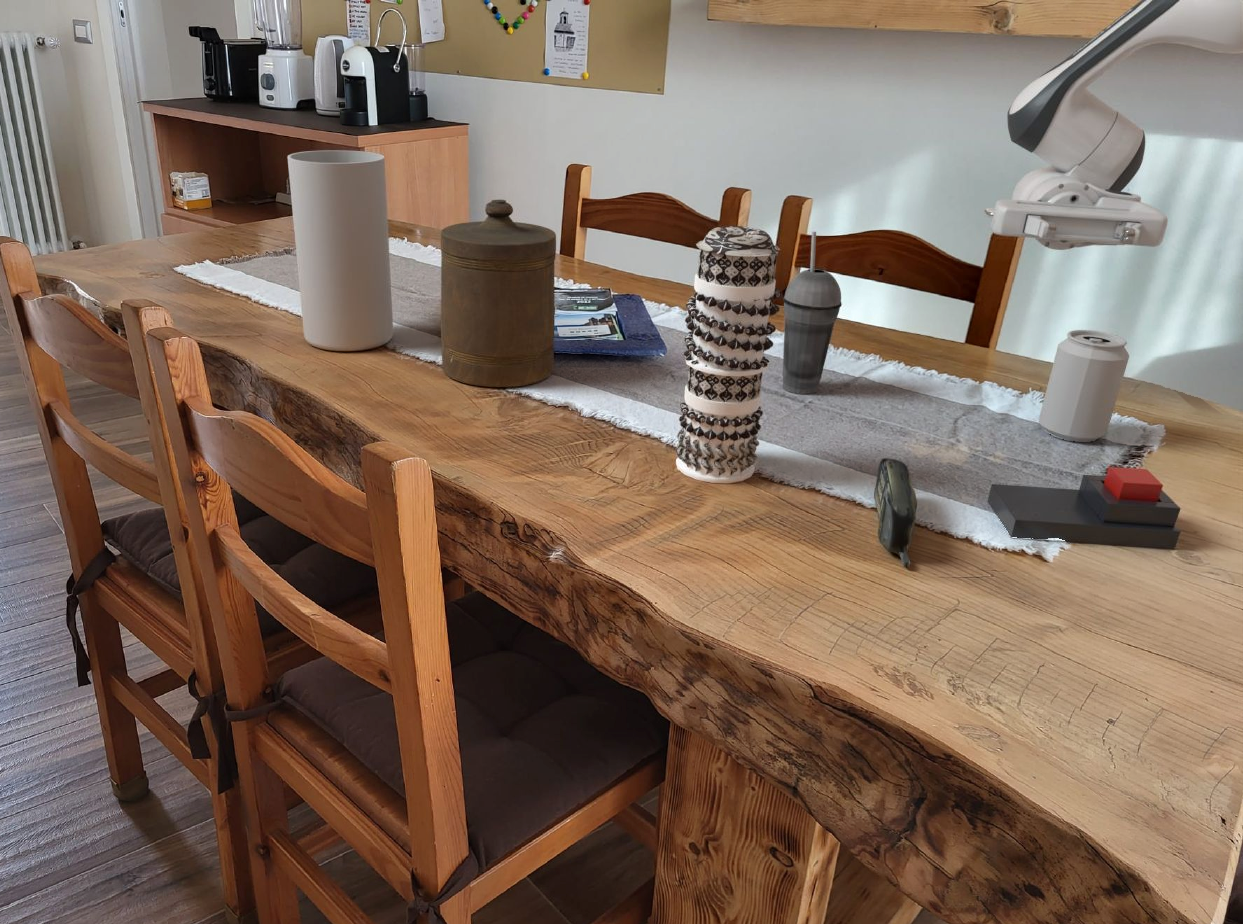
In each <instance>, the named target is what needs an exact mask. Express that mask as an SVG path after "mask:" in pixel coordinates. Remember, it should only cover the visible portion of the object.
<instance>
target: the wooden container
mask: <svg viewBox="0 0 1243 924" xmlns="http://www.w3.org/2000/svg"><path fill="white" fill-rule="evenodd" d="M484 211H485V214H486V215H487V217H486V218H485V219H484V220H482V221H470V222H468V221H467V222H460V223H455V224H452V225H448V226H446V227H444V228H443V229H442V230H441V231H440V254H441V256H440V257H441V260H440V262H441V263H440V264H441V265H440V278H441V279H440V284H441V285H440V339H441V340H440V341H441V366H442V371H443V373H444V374H445V375H446V376H447V377H448V378H450V379H452V380H454V381H457V382H459V383H463V384H467V385H470V386H471V385H472V386H477V387H484V388H485V387H486V388H514V387H515V388H516V387H523V386H529V385H532V384H535V383H539V382H541V381H544V380H546V379H547V378H549V377H550V376H551V375H552V374H553V371H554V354H555V347H554V343H555V318H556V317H555V316H556V315H555V311H556V310H555V306H556V305H555V260H556V256H557V255H556V254H557V252H556V251H557V234H556V232H555V231H554V230H552V229H551V228H548V227H545V226H542V225H538V224H534V223H527V222H517V221H514V220H513V219H512V218H511V217H510V216H511V215H512V214H513V213H514V208H513V206H512V205H511V204H510V203H508V202H507V200H506V199H492V200H491V201H490V202H488V203H486V204H485V210H484Z"/></svg>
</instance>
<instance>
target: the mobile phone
mask: <svg viewBox="0 0 1243 924" xmlns="http://www.w3.org/2000/svg"><path fill="white" fill-rule="evenodd" d="M873 497H874V501H875V506H876V511H877V518H878V530H877V536H878V540H879V542H880V544H881V545H882V546H883V548H884V550H885V551H887V552H890V553H894V554H897V555H898V556H899V557H900V560H901V563H902V566H903V567H904V568H910V565H911V561H910V558H909V555H908V551H909V549H910V547H911V545H912V541H913V537H914V532H915V526H916V519H917V518H916V517H917V516H916V514H917V508H918V500H917V495H916V491H915V489H914V485H913V483H912V477H911V473H910V471H909V468H908V466H907V465H906V464H905V463H904V462H902V461H900V460H898V459H894V458H888V457H887V458H886V457H885V458H882V459H881V460H880V462H879V466H878V471H877V476H876V481H875V487H874V491H873Z"/></svg>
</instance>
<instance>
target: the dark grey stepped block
mask: <svg viewBox="0 0 1243 924" xmlns="http://www.w3.org/2000/svg"><path fill="white" fill-rule="evenodd" d="M1105 478H1106V475H1095V474H1083V476H1082V478H1081V481H1080V486H1079V488H1078V489H1073V488H1059V487H1057V488H1056V487H1044V486H1028V485H1014V484H1013V485H1012V484H1001V483H999V484H998V483H991V485H990V489H989V494H988V497H987V503H988V505H989V506H990V508H991V509H992V511H993V512H994V514H995V516H996V517H997V516H998V517H997V519H998V520H999V519H1000V520H999V522H1000V521H1001V522H1002V523H1001V522H1000V523H1001V525H1002V524H1003V525H1004V526H1003V525H1002V526H1003V528H1004V527H1005V528H1006V530H1007V531H1008V533H1009V534H1008V533H1007V534H1008V536H1009V535H1010V536H1011V537H1017V538H1031V539H1032V538H1033V539H1048V538H1059V539H1062V540H1065V541H1066V542H1065V543H1073V544H1086V545H1090V544H1091V545H1102V546H1115V547H1127V548H1129V547H1130V548H1144V549H1157V550H1171V551H1172V550H1173V551H1174V550H1175V549H1176V547H1177V544H1178V541H1179V538H1180V534H1181V530H1180V529H1179V528H1178V527H1177V526H1176V523H1177V520H1178V518H1179V514H1180V511H1181V507H1180V506H1179V505H1178V504H1177V503H1176V502H1175V501H1174V500H1173V499H1172V498H1171V497H1170V496H1169V495H1168V494H1167V493H1166V492H1165V491H1163V489H1162V490H1161V493H1160V496H1159V499H1158V502H1151V501H1137V500H1122V499H1116V497H1115V496H1114V495H1113V494H1112V493H1111V492H1110V491H1109V490H1108V489H1107V487H1106V486H1105V485H1104V481H1105ZM1005 528H1004V529H1005ZM1006 530H1005V531H1006ZM1007 531H1006V532H1007ZM1010 536H1009V537H1010ZM1011 537H1010V538H1011Z"/></svg>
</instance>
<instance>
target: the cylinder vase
mask: <svg viewBox="0 0 1243 924" xmlns="http://www.w3.org/2000/svg"><path fill="white" fill-rule="evenodd" d="M286 158H287V165H288V166H287V167H288V178H289V188H290V200H291V210H292V220H293V221H292V222H293V229H294V230H293V231H294V232H293V233H294V243H295V253H296V254H295V255H296V263H297V264H296V265H297V274H298V284H299V285H298V286H299V297H300V307H301V317H302V318H301V319H302V328H303V337H304V340H305V341H306V342H307V343H308V344H309V345H310V346H313V347H315V348H318V349H320V350H321V349H322V350H326V351H333V352H357V351H366V350H367V351H368V350H371V349H376V348H378V347H381V346H384V345H386V344H387V343H389V342H390V341H391V339H392V338H393V336H394V319H393V318H394V317H393V300H392V299H393V298H392V278H391V263H390V262H391V259H390V242H389V241H390V240H389V222H388V221H389V219H388V203H387V201H388V199H387V184H386V181H387V180H386V163H385V161H386V160H385V156H384V155H383V154H380V153H376V152H370V151H362V150H361V151H360V150H344V149H343V150H340V149H338V150H336V149H335V150H332V149H331V150H330V149H327V150H326V149H324V150H309V151H299V152H294V153H291V154H288V155H287V157H286Z"/></svg>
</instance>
